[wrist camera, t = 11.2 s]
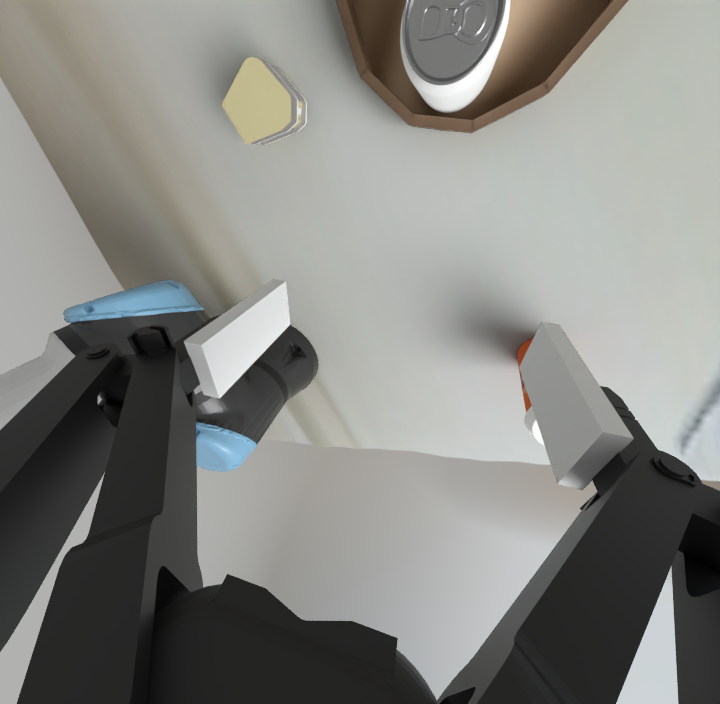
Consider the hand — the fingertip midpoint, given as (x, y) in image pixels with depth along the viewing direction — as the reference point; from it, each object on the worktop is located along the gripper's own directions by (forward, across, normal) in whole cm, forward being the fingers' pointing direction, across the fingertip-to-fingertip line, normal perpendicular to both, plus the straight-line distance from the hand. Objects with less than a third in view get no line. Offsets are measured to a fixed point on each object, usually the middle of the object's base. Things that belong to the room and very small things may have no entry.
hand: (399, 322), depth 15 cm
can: (+23, 0, -14) cm, 27 cm away
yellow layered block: (+26, +18, -10) cm, 33 cm away
